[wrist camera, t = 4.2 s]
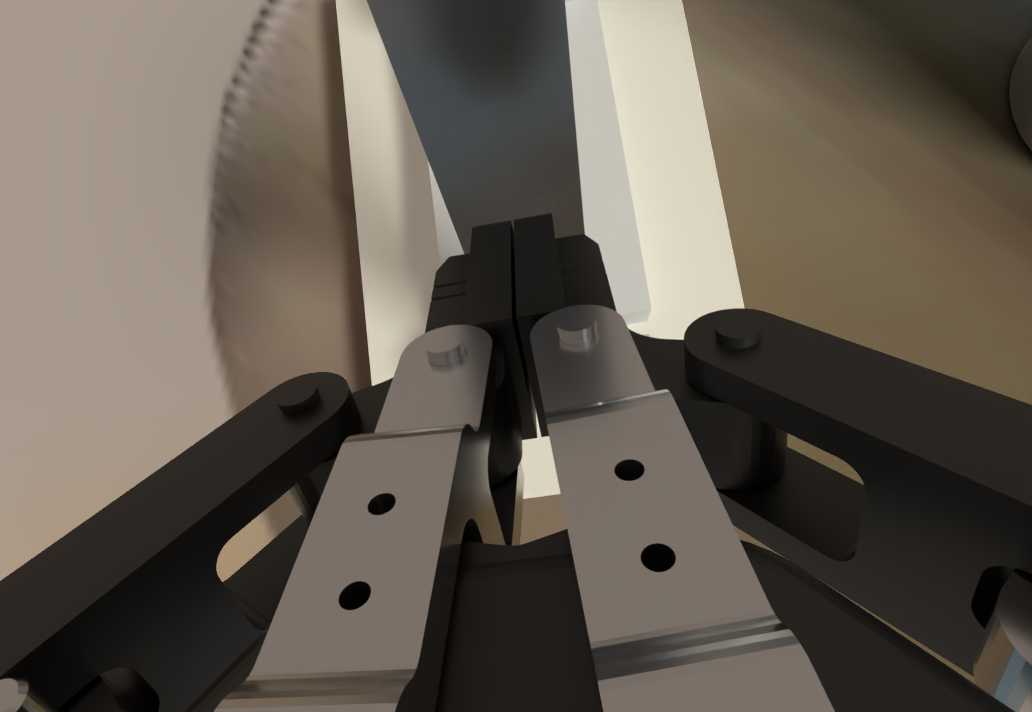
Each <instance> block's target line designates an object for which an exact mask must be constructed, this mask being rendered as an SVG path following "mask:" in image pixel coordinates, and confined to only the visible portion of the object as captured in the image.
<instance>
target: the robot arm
mask: <svg viewBox="0 0 1032 712" xmlns="http://www.w3.org/2000/svg"><path fill="white" fill-rule="evenodd" d="M1009 99H1010V105H1011V111H1012V117H1013V119H1014V121H1015V124H1016V126H1017V128H1018V131H1019V133H1020V136H1021V137H1022V139H1023V140H1024V141H1025V143H1026V144H1027V146H1028V147H1029V148H1030V150H1031V151H1032V37H1031V38H1030V39H1029V40H1028V42H1027V43H1026V45H1025V46H1024V48H1023V49H1022V51H1021V53H1020V54H1019V56H1018V57H1017V59H1016V62H1015V65H1014V68H1013V71H1012V74H1011V78H1010V91H1009ZM433 287H434V289H433V291H432V296H431V301H432V302H430V307H429V313H428V318H427V324H426V330H425V334H423V335H421V336H419V337H417V338H416V339H415V340H413V341H412V342H411V343H410V344H409V345H408V346H407V347H406V348H405V349H404V351H403V352H402V354H401V357H400V360H399V363H398V365H397V368H396V371H395V374H394V377H393V378H391V379H389V380H386V381H384V382H381V383H379V384H376V385H374V386H371V387H368V388H365V389H362V390H360V391H357V392H354V393H351V390H350V388H349V385H348V383H347V381H346V380H345V379H344V378H343V377H341V376H340V375H338V374H334V373H329V372H316V373H309V374H305V375H301V376H298V377H295V378H292V379H290V380H288V381H286V382H284V383H282V384H280V385H278V386H277V387H275V388H273V389H272V390H271V391H269V392H268V393H266V394H265V395H263V396H262V397H261V398H259V399H258V400H256V401H255V402H253V403H252V404H251V405H249V406H248V407H246V408H245V409H244V410H242V411H241V412H239V413H238V414H236V415H235V416H234V417H232V418H231V419H229V420H228V421H227V422H225V423H224V424H222V425H221V426H219V427H218V428H217V429H215V430H214V431H213V432H211V433H210V434H208V435H207V436H206V437H204V438H202V439H201V440H200V441H198V442H197V443H195V444H194V445H193V446H191V447H190V448H188V449H187V450H186V451H184V452H183V453H182V454H180V455H178V456H177V457H176V458H174V459H173V460H171V461H170V462H168V463H167V464H166V465H165V466H163V467H162V468H160V469H159V470H157V471H156V472H154V473H153V474H152V475H150V476H149V477H147V478H146V479H145V480H143V481H141V482H140V483H139V484H137V485H136V486H135V487H133V488H132V489H130V490H129V491H127V492H126V493H125V494H123V495H122V496H120V497H119V498H117V499H116V500H115V501H113V502H112V503H110V504H109V505H107V506H106V507H105V508H103V509H102V510H101V511H99V512H98V513H96V514H95V515H93V516H92V517H91V518H89V519H88V520H86V521H85V522H83V523H82V524H81V525H79V526H78V527H76V528H75V529H73V530H72V531H71V532H69V533H68V534H66V535H65V536H64V537H62V538H61V539H59V540H58V541H57V542H55V543H54V544H52V545H51V546H49V547H48V548H47V549H45V550H44V551H42V552H41V553H39V554H38V555H37V556H35V557H34V558H32V559H31V560H29V561H28V562H27V563H25V564H24V565H22V566H21V567H20V568H18V569H17V570H15V571H14V572H13V573H11V574H10V575H8V576H7V577H5V578H4V579H3V580H1V581H0V712H1032V405H1030V404H1027V403H1024V402H1022V401H1019V400H1016V399H1013V398H1010V397H1007V396H1004V395H1002V394H999V393H996V392H993V391H990V390H987V389H984V388H982V387H979V386H976V385H973V384H970V383H967V382H964V381H962V380H959V379H956V378H953V377H950V376H947V375H944V374H942V373H939V372H936V371H933V370H930V369H927V368H924V367H922V366H919V365H916V364H913V363H910V362H907V361H904V360H902V359H899V358H896V357H893V356H890V355H887V354H884V353H882V352H879V351H876V350H873V349H870V348H867V347H864V346H862V345H859V344H856V343H853V342H850V341H847V340H844V339H842V338H839V337H836V336H833V335H830V334H827V333H824V332H822V331H819V330H816V329H813V328H810V327H807V326H804V325H802V324H799V323H796V322H793V321H790V320H787V319H784V318H782V317H779V316H776V315H773V314H770V313H767V312H763V311H759V310H754V309H744V308H734V309H724V310H719V311H715V312H711V313H708V314H706V315H703V316H701V317H699V318H698V319H696V320H695V321H693V322H692V323H691V324H690V325H689V326H688V328H687V329H686V331H685V333H684V340H677V339H660V338H653V337H648V336H644V335H641V334H638V333H636V332H633V331H632V330H630V329H628V327H627V325H626V323H625V320H624V319H623V317H622V316H621V315H620V314H619V313H617V311H616V307H615V303H614V299H613V296H612V292H611V288H610V285H609V281H608V277H607V274H606V270H605V266H604V263H603V260H602V255H601V251H600V248H599V244H598V243H596V242H595V241H594V240H592V239H591V238H589V237H588V236H586V235H585V234H579V235H573V236H567V237H561V238H556V237H555V230H554V224H553V218H552V213H548V214H542V215H537V216H531V217H525V218H519V219H514V230H513V226H512V222H511V220H509V221H503V222H497V223H491V224H485V225H480V226H474V227H472V235H471V245H470V253H468V254H462V255H456V256H450V257H448V259H447V260H446V261H445V262H444V263H443V264H442V265H441V266H440V268H439V269H438V270H437V271H436V274H435V280H434V285H433ZM536 414H537V418H538V423H539V428H540V433H541V437H547V436H549V438H550V443H551V448H552V453H553V458H554V463H555V468H556V473H557V478H558V483H559V488H560V493H561V499H562V504H563V509H564V514H565V519H566V524H567V529H566V530H563V531H560V532H557V533H555V534H552V535H549V536H546V537H543V538H540V539H537V540H535V541H532V542H529V543H526V544H522V545H520V535H521V520H522V505H523V490H524V472H523V468H522V464H521V459H522V440H527V439H534V438H537V424H536ZM788 433H789V434H791V435H793V436H795V437H797V438H799V439H801V440H803V441H805V442H807V443H809V444H811V445H814V446H816V447H818V448H820V449H822V450H824V451H826V452H828V453H830V454H832V455H834V456H836V457H838V458H840V459H842V460H844V461H845V462H846V463H848V464H849V465H850V466H851V467H852V468H853V469H854V470H855V471H856V472H857V473H858V474H859V476H860V477H861V479H862V481H863V483H864V485H863V484H861V483H859V482H857V481H855V480H853V479H851V478H849V477H847V476H845V475H843V474H841V473H839V472H837V471H835V470H833V469H831V468H829V467H827V466H825V465H823V464H821V463H819V462H817V461H815V460H813V459H811V458H809V457H807V456H805V455H803V454H801V453H799V452H797V451H795V450H793V449H791V448H789V447H787V434H788ZM288 490H289V491H290V493H291V495H292V497H293V499H294V501H295V502H296V504H297V506H298V508H299V510H300V512H301V514H302V515H301V516H300V517H299V518H297V519H296V520H295V521H294V522H293V523H292V524H290V525H289V526H288V527H287V528H286V529H285V530H284V531H282V532H281V533H280V534H279V535H278V536H277V537H276V538H274V539H273V540H272V541H271V542H270V543H269V544H268V545H266V546H265V547H264V548H263V549H262V550H261V551H260V552H259V553H257V554H256V555H255V556H254V557H253V558H252V559H250V560H249V561H248V562H247V563H246V564H245V565H244V566H243V567H241V568H240V569H239V570H238V571H237V572H235V573H234V574H233V575H232V576H231V577H230V578H228V579H227V580H225V581H224V582H222V581H221V580H220V578H219V577H218V575H217V571H216V563H217V558H218V555H219V553H220V551H221V550H222V548H223V546H224V545H225V544H226V543H227V541H228V540H229V539H231V538H232V537H233V536H234V535H235V534H236V533H238V532H239V531H240V530H241V529H242V528H244V527H245V526H246V525H247V524H248V523H250V522H251V521H252V520H253V519H254V518H256V517H257V516H258V515H259V514H260V513H262V512H263V511H264V510H265V509H267V508H268V507H269V506H270V505H271V504H273V503H274V502H275V501H276V500H277V499H279V498H280V497H281V496H282V495H283V494H285V493H286V492H287V491H288ZM733 525H734V526H736V527H737V528H739V529H740V530H742V531H744V532H745V533H747V534H748V535H750V536H751V537H753V538H755V539H756V540H758V541H759V542H761V543H763V544H764V545H766V546H767V547H769V548H770V549H772V550H774V551H775V552H777V553H778V554H780V555H782V556H783V557H785V558H786V559H785V558H783V557H781V556H779V555H777V554H775V553H773V552H772V551H769V550H767V549H764V548H762V547H759V546H757V545H754V544H752V543H749V542H745V541H742V540H739V537H738V535H737V533H736V531H735V529H734V527H733ZM787 559H788V560H787ZM789 560H790V561H789ZM808 572H809V573H808ZM811 574H812V575H811ZM814 576H815V577H814ZM816 577H817V578H818V579H817V578H816ZM819 579H820V580H821V581H820V580H819ZM822 581H823V582H824V583H823V582H822ZM825 583H826V584H828V585H829V586H831V587H832V588H834V589H836V590H837V591H839V592H840V593H842V594H843V595H845V596H847V597H848V598H850V599H851V600H853V601H855V602H856V603H858V604H859V605H861V606H863V607H864V608H866V609H867V610H869V611H870V612H872V613H874V614H875V615H877V616H878V617H880V618H882V619H883V620H885V621H886V622H888V623H889V624H891V625H893V626H894V627H896V628H897V629H899V630H901V631H902V632H904V633H905V634H907V635H909V636H910V637H912V638H913V639H915V640H916V641H918V642H920V643H921V644H923V645H924V646H926V647H928V648H929V649H931V650H932V651H934V652H936V653H937V654H939V655H940V656H942V657H943V658H945V659H947V660H948V661H950V662H951V663H953V664H955V665H956V666H958V667H959V668H961V669H962V670H964V671H966V672H967V673H969V674H970V675H972V676H974V677H975V681H976V685H975V684H974V683H972V682H971V681H969V680H968V679H966V678H965V677H963V676H962V675H960V674H959V673H957V672H956V671H954V670H953V669H951V668H950V667H948V666H947V665H945V664H944V663H942V662H941V661H939V660H938V659H936V658H935V657H933V656H932V655H930V654H929V653H927V652H926V651H924V650H923V649H921V648H920V647H919V646H917V645H916V644H914V643H913V642H911V641H910V640H908V639H907V638H905V637H904V636H902V635H901V634H899V633H898V632H896V631H895V630H893V629H892V628H890V627H889V626H887V625H886V624H884V623H883V622H881V621H880V620H878V619H877V618H875V617H874V616H872V615H871V614H869V613H868V612H866V611H865V610H863V609H862V608H860V607H859V606H857V605H856V604H854V603H853V602H851V601H850V600H849V599H847V598H846V597H844V596H843V595H841V594H840V593H838V592H837V591H835V590H834V589H832V588H831V587H829V586H828V585H826V584H825Z"/></svg>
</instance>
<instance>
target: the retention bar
mask: <svg viewBox="0 0 1032 712" xmlns="http://www.w3.org/2000/svg"><path fill="white" fill-rule="evenodd" d="M367 3H368V5H369V8H370V11H371V13H372V16H373V18H374V21H375V24H376V26H377V29H378V31H379V34H380V37H381V39H382V42H383V44H384V47H385V50H386V52H387V55H388V57H389V60H390V63H391V65H392V68H393V70H394V73H395V75H396V78H397V81H398V83H399V86H400V88H401V91H402V94H403V96H404V99H405V101H406V104H407V107H408V109H409V112H410V114H411V117H412V120H413V122H414V125H415V127H416V130H417V133H418V135H419V138H420V140H421V143H422V146H423V148H424V151H425V153H426V156H427V158H428V161H429V164H430V166H431V169H432V171H433V174H434V177H435V179H436V182H437V184H438V187H439V190H440V192H441V195H442V197H443V200H444V203H445V205H446V208H447V210H448V213H449V216H450V218H451V221H452V223H453V226H454V229H455V231H456V234H457V236H458V239H459V242H460V244H461V247H462V249H463V252H464V254H468V253H470V245H471V235H472V227H474V226H480V225H485V224H491V223H497V222H503V221H509V220H511V222H512V226H513V230H514V219H519V218H525V217H531V216H537V215H542V214H548V213H552V218H553V224H554V230H555V237H556V238H561V237H567V236H573V235H579V234H585V230H584V218H583V206H582V195H581V183H580V171H579V160H578V148H577V136H576V124H575V113H574V101H573V89H572V78H571V66H570V54H569V43H568V31H567V19H566V8H565V0H367Z"/></svg>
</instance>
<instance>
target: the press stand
mask: <svg viewBox="0 0 1032 712" xmlns="http://www.w3.org/2000/svg"><path fill="white" fill-rule="evenodd" d="M565 8H566V19H567V31H568V43H569V54H570V66H571V78H572V89H573V101H574V113H575V124H576V136H577V148H578V160H579V171H580V183H581V195H582V206H583V218H584V230H585V235H586V236H588V237H589V238H591V239H592V240H594V241H595V242H596V243H598V244H599V248H600V251H601V255H602V260H603V263H604V266H605V270H606V274H607V277H608V281H609V285H610V288H611V292H612V296H613V299H614V303H615V307H616V311H617V313H619V314H620V315H621V316H622V317H623V319H624V320H625V323H626V325H627V327H628V329H630V330H632V331H633V332H636V333H638V334H641V335H644V336H648V337H653V338H660V339H677V340H684V333H685V331H686V329H687V328H688V326H689V325H690V324H691V323H692V322H693V321H695V320H696V319H698V318H699V317H701V316H703V315H706V314H708V313H711V312H715V311H719V310H724V309H734V308H744V304H743V299H742V294H741V289H740V284H739V279H738V274H737V269H736V264H735V259H734V254H733V249H732V245H731V240H730V235H729V230H728V225H727V220H726V215H725V210H724V205H723V200H722V195H721V190H720V185H719V180H718V176H717V171H716V166H715V161H714V156H713V151H712V146H711V141H710V136H709V131H708V126H707V121H706V116H705V111H704V107H703V102H702V97H701V92H700V87H699V82H698V77H697V72H696V67H695V62H694V57H693V52H692V47H691V43H690V38H689V33H688V28H687V23H686V18H685V13H684V8H683V3H682V0H565ZM336 9H337V20H338V30H339V41H340V52H341V62H342V73H343V83H344V94H345V105H346V115H347V126H348V137H349V147H350V158H351V169H352V179H353V190H354V200H355V211H356V222H357V232H358V243H359V254H360V264H361V275H362V286H363V296H364V307H365V318H366V328H367V339H368V349H369V360H370V371H371V381H372V386H374V385H376V384H379V383H381V382H384V381H386V380H389V379H391V378H393V377H394V374H395V371H396V368H397V365H398V363H399V360H400V357H401V354H402V352H403V351H404V349H405V348H406V347H407V346H408V345H409V344H410V343H411V342H412V341H413V340H415V339H416V338H417V337H419V336H421V335H423V334H425V330H426V324H427V318H428V313H429V307H430V302H432V301H431V296H432V291H433V289H434V287H433V285H434V280H435V274H436V271H437V270H438V269H439V268H440V266H441V265H442V264H443V263H444V262H445V261H446V260H447V259H448V257H450V256H456V255H462V254H464V252H463V249H462V247H461V244H460V242H459V239H458V236H457V234H456V231H455V229H454V226H453V223H452V221H451V218H450V216H449V213H448V210H447V208H446V205H445V203H444V200H443V197H442V195H441V192H440V190H439V187H438V184H437V182H436V179H435V177H434V174H433V171H432V169H431V166H430V164H429V161H428V158H427V156H426V153H425V151H424V148H423V146H422V143H421V140H420V138H419V135H418V133H417V130H416V127H415V125H414V122H413V120H412V117H411V114H410V112H409V109H408V107H407V104H406V101H405V99H404V96H403V94H402V91H401V88H400V86H399V83H398V81H397V78H396V75H395V73H394V70H393V68H392V65H391V63H390V60H389V57H388V55H387V52H386V50H385V47H384V44H383V42H382V39H381V37H380V34H379V31H378V29H377V26H376V24H375V21H374V18H373V16H372V13H371V11H370V8H369V5H368V3H367V0H336ZM536 424H537V438H534V439H527V440H522V459H521V464H522V468H523V472H524V490H523V499H525V498H533V497H540V496H548V495H555V494H561V493H560V488H559V483H558V478H557V473H556V468H555V463H554V458H553V453H552V448H551V443H550V438H549V436H547V437H541V433H540V428H539V423H538V418H537V414H536Z"/></svg>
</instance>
